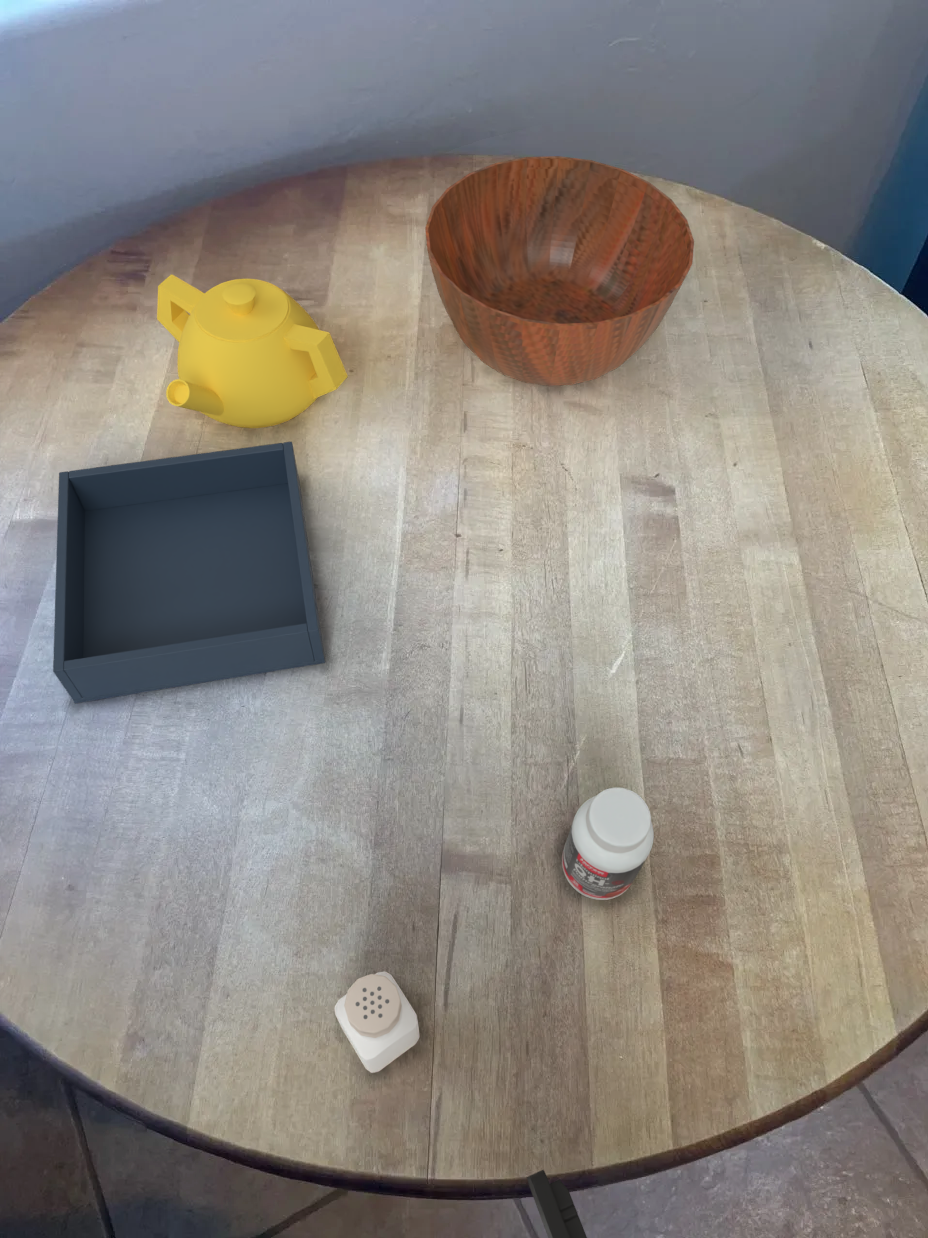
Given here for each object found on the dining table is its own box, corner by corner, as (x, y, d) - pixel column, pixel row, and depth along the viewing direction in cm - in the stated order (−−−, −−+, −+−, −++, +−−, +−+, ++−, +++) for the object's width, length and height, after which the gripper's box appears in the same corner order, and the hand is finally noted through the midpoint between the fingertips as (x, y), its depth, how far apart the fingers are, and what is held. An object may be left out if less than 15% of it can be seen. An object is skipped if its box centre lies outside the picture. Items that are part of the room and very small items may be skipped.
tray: (74, 703, 75) (52, 671, 71) (77, 510, 85) (58, 471, 81) (325, 663, 77) (318, 629, 73) (299, 479, 88) (291, 441, 83)
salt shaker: (338, 1023, 63) (323, 993, 55) (390, 987, 64) (383, 952, 56) (371, 1078, 61) (361, 1056, 53) (423, 1040, 62) (421, 1012, 54)
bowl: (376, 323, 99) (369, 225, 89) (547, 224, 108) (558, 126, 99) (547, 461, 89) (560, 368, 80) (719, 340, 99) (750, 243, 89)
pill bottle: (561, 900, 68) (578, 854, 59) (560, 827, 70) (576, 773, 62) (638, 904, 68) (665, 858, 59) (634, 830, 70) (659, 777, 62)
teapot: (104, 426, 91) (65, 334, 81) (212, 309, 100) (189, 214, 90) (287, 499, 86) (269, 411, 77) (383, 370, 95) (377, 278, 86)
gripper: (817, 1656, 32) (603, 1139, 40) (413, 1904, 29) (270, 1292, 37) (756, 1586, 38) (582, 1152, 46) (419, 1784, 35) (296, 1283, 43)
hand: (444, 1214), depth 42 cm, fingers open, 8 cm apart
